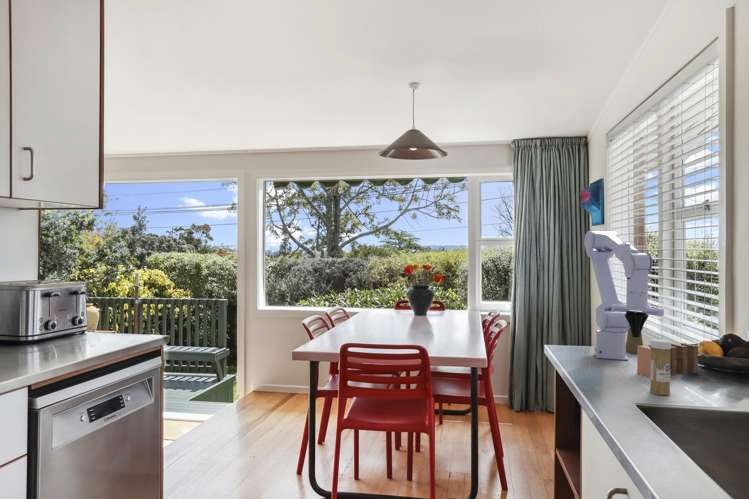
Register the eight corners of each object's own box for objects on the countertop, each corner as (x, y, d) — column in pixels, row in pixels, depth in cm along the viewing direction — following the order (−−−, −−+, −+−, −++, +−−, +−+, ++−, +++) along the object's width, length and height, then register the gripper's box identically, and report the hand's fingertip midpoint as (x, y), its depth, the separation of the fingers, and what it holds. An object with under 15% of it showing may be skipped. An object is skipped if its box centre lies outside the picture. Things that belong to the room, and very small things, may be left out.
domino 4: (693, 373, 147) (694, 346, 147) (680, 369, 152) (681, 343, 152) (697, 373, 148) (698, 345, 148) (684, 369, 152) (684, 343, 152)
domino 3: (683, 374, 146) (683, 346, 146) (670, 370, 151) (670, 343, 150) (687, 373, 147) (687, 346, 147) (674, 370, 151) (674, 343, 151)
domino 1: (649, 376, 143) (649, 348, 143) (637, 373, 147) (637, 345, 147) (653, 376, 143) (654, 348, 143) (641, 372, 148) (641, 345, 148)
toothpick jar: (665, 397, 124) (666, 342, 124) (646, 392, 127) (647, 339, 127) (673, 394, 126) (674, 340, 126) (654, 389, 130) (655, 337, 130)
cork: (647, 354, 173) (648, 322, 173) (629, 353, 173) (630, 321, 173) (638, 350, 179) (639, 319, 179) (621, 350, 179) (622, 319, 179)
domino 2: (672, 375, 145) (672, 347, 145) (659, 371, 149) (659, 344, 149) (676, 374, 146) (676, 347, 145) (663, 371, 150) (663, 344, 150)
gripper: (607, 291, 156) (606, 334, 156) (657, 295, 145) (656, 342, 145) (617, 290, 161) (616, 332, 161) (666, 293, 150) (665, 339, 150)
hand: (636, 337), depth 154 cm, fingers closed
